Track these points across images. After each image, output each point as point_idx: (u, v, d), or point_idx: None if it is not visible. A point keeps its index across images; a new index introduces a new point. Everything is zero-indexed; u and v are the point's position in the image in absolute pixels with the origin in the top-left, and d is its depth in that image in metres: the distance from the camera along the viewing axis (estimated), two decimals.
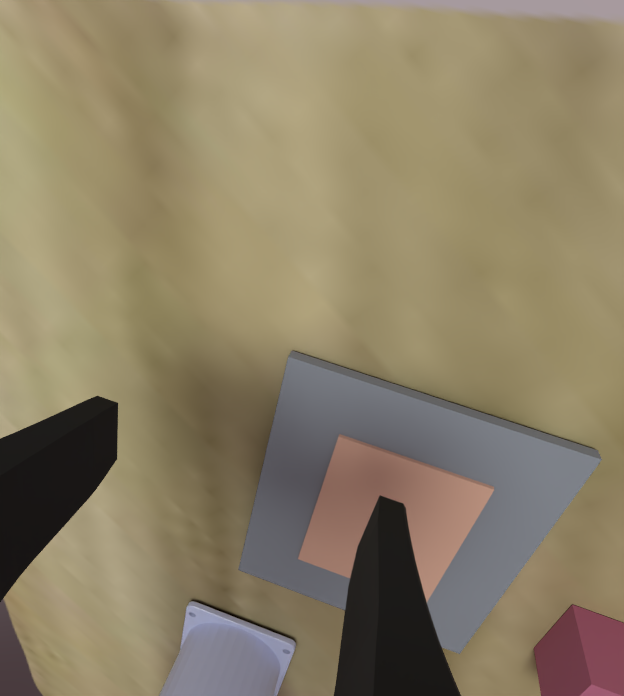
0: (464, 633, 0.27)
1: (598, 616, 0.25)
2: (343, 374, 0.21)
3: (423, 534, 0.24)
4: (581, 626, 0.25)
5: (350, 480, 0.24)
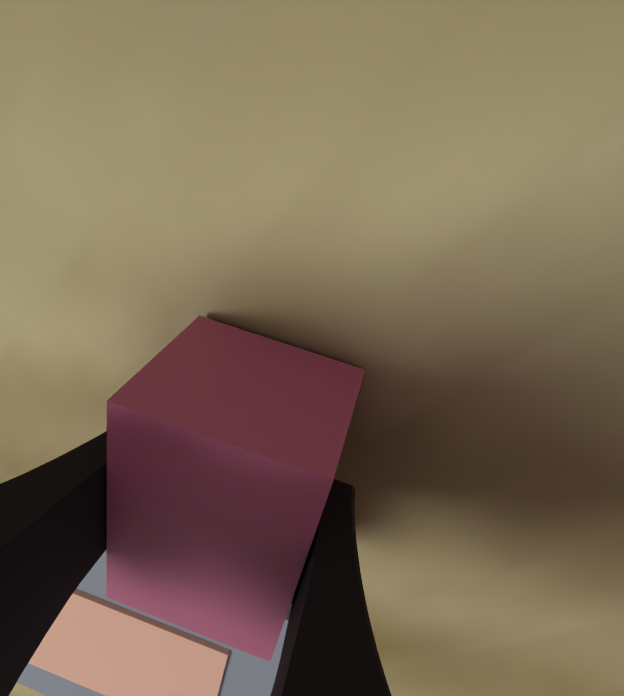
0: None
1: None
2: None
3: (103, 630, 0.20)
4: None
5: (67, 667, 0.22)
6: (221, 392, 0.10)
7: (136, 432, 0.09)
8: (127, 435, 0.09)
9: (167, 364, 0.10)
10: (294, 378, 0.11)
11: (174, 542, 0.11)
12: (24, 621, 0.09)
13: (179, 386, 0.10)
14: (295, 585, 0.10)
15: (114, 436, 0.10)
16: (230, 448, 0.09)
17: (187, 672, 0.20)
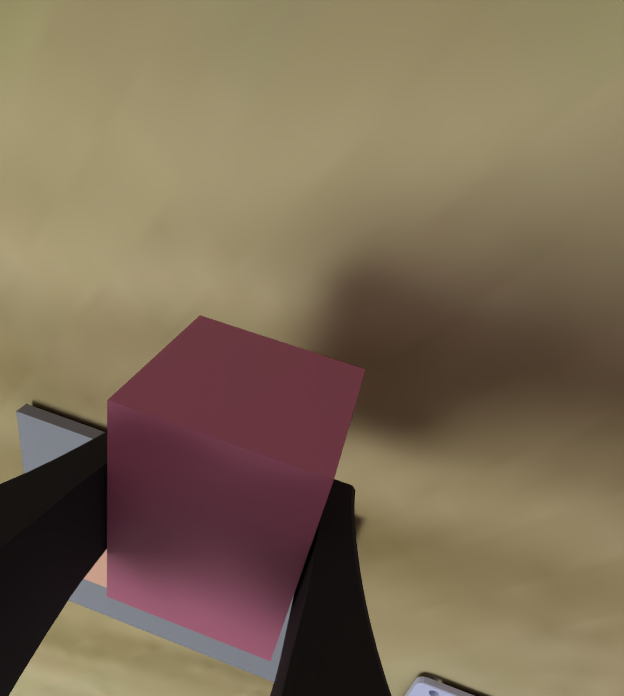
0: None
1: None
2: None
3: None
4: None
5: None
6: (221, 391, 0.10)
7: (136, 432, 0.09)
8: (128, 434, 0.09)
9: (167, 364, 0.10)
10: (294, 378, 0.11)
11: (174, 542, 0.11)
12: (24, 621, 0.09)
13: (180, 386, 0.10)
14: (295, 584, 0.10)
15: (114, 435, 0.10)
16: (231, 447, 0.09)
17: None
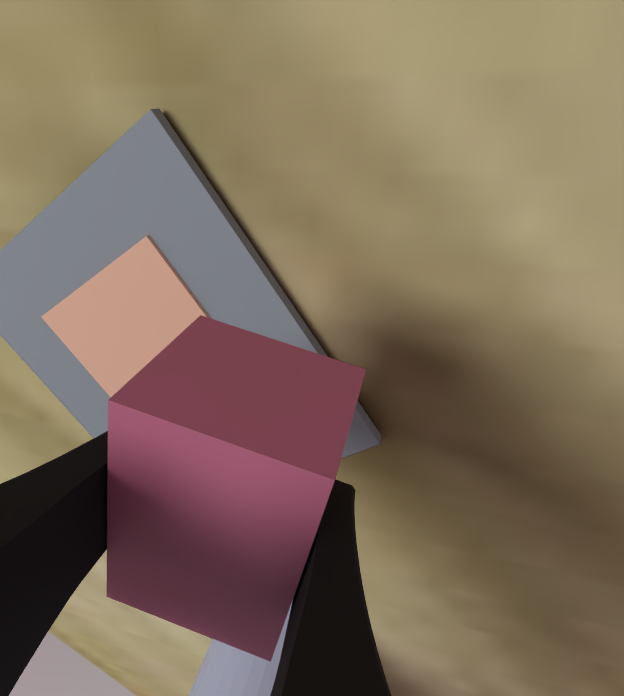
0: None
1: None
2: None
3: None
4: None
5: (91, 347, 0.23)
6: (222, 391, 0.10)
7: (137, 431, 0.09)
8: (128, 434, 0.09)
9: (168, 363, 0.10)
10: (295, 378, 0.11)
11: (174, 542, 0.11)
12: (24, 621, 0.09)
13: (181, 386, 0.10)
14: (296, 585, 0.10)
15: (115, 435, 0.09)
16: (232, 447, 0.09)
17: None
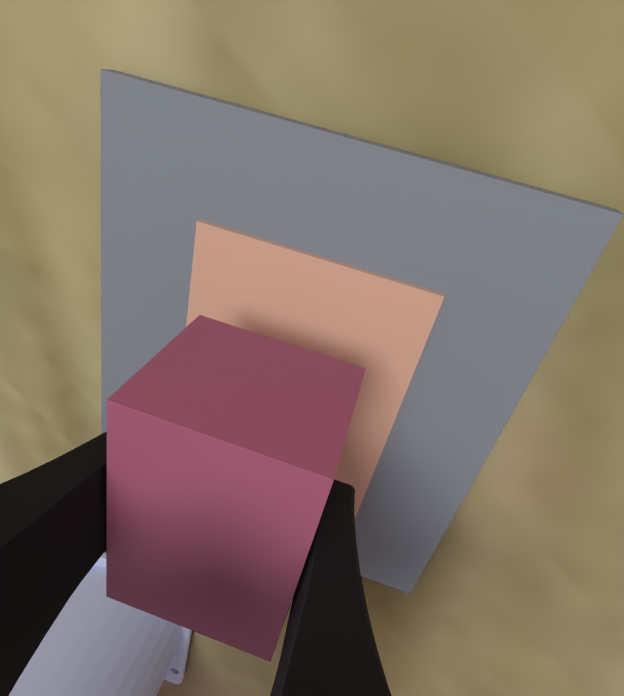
0: (414, 561, 0.19)
1: None
2: (190, 94, 0.13)
3: None
4: None
5: (225, 305, 0.15)
6: (221, 391, 0.10)
7: (136, 431, 0.09)
8: (127, 434, 0.09)
9: (167, 363, 0.10)
10: (294, 377, 0.11)
11: (173, 542, 0.11)
12: (24, 621, 0.09)
13: (179, 385, 0.10)
14: (295, 584, 0.10)
15: (113, 435, 0.09)
16: (231, 446, 0.09)
17: None
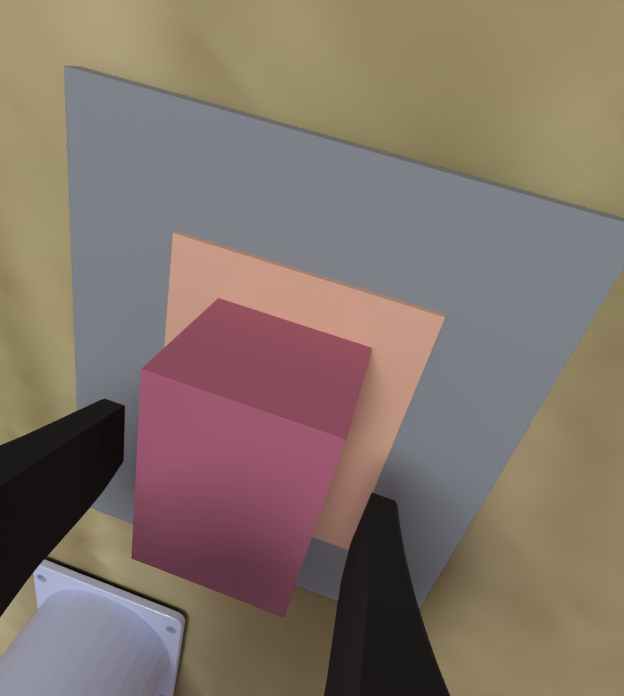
0: None
1: None
2: (163, 92, 0.12)
3: None
4: None
5: None
6: (242, 363, 0.11)
7: (166, 398, 0.10)
8: (158, 400, 0.10)
9: (192, 339, 0.11)
10: (307, 353, 0.12)
11: (197, 503, 0.12)
12: None
13: (204, 358, 0.11)
14: (309, 541, 0.11)
15: (146, 402, 0.10)
16: (253, 411, 0.10)
17: None
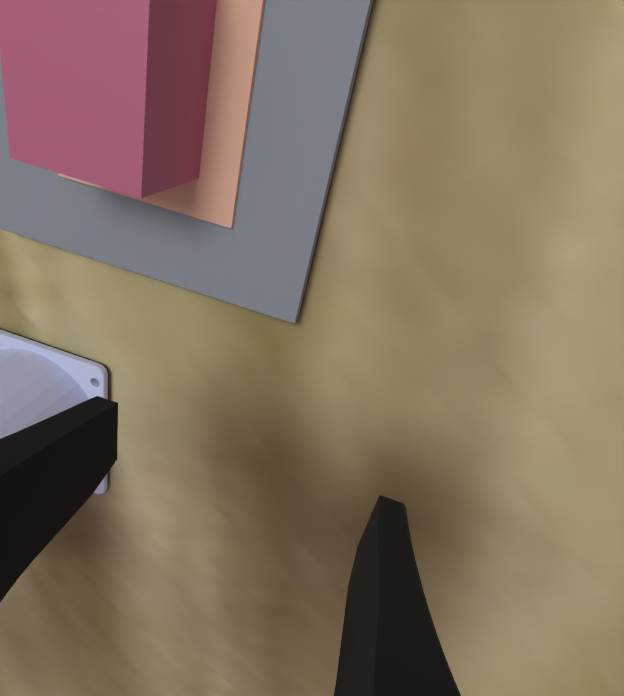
0: (293, 278, 0.19)
1: None
2: None
3: None
4: None
5: None
6: None
7: None
8: None
9: None
10: None
11: (51, 57, 0.13)
12: None
13: None
14: (145, 79, 0.13)
15: None
16: None
17: None
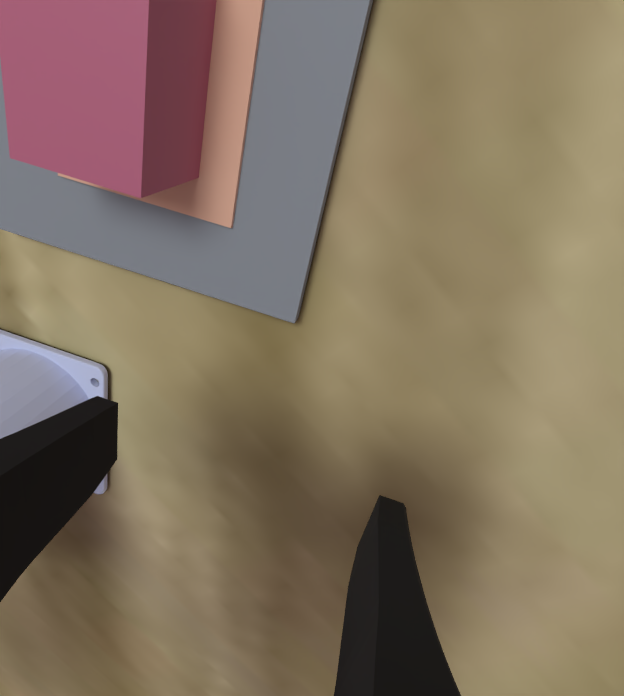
0: (292, 278, 0.19)
1: None
2: None
3: None
4: None
5: None
6: None
7: None
8: None
9: None
10: None
11: (51, 57, 0.13)
12: None
13: None
14: (144, 78, 0.13)
15: None
16: None
17: None
